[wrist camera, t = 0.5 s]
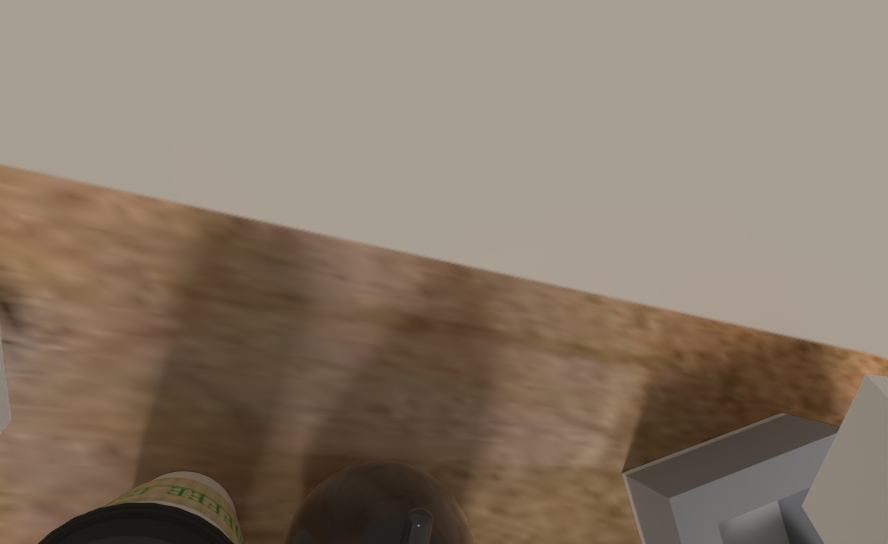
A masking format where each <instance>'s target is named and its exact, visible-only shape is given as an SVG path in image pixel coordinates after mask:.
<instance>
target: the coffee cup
mask: <svg viewBox="0 0 888 544" xmlns="http://www.w3.org/2000/svg"><path fill="white" fill-rule="evenodd" d="M38 544H244V543H243V538H242V532H241V527H240V524H239V521H238V518H237V516H236V510H235V507H234V504H233V502H232V499H231V498H230V496H229V495H228V493H227V491H226V490H225V489H224V488H223V487H222V486H221V485H220V484H219V483H217V482H216V481H214V480H213V479H211V478H210V477H207V476H205V475H202V474H200V473H195V472H189V471H178V472H173V473H167V474H164V475H162V476H159V477H157V478H155V479H153V480H152V481H149V482H147V483H144V484H142V485H139V486H137V487H135V488H134V489H132V490H131V491H129V492H127V493H126V494H124V495H122V496H121V497H119V498H117V499H116V500H114V501H112V502H111V503H109V504H107V505H106V506H104V507H101V508H98V509H95V510H93V511H90V512H88V513H85V514H83V515H80V516H78V517H75V518H73V519H72V520H70V521H68V522H67V523H65V524H63V525H62V526H60V527H58V528H57V529H55V530H54V531H52V532H51V533H49V534H48V535H47V536H46V537H45V538H44V539H43V540H42V541H40V542H39V543H38Z"/></svg>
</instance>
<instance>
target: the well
mask: <svg viewBox="0 0 888 544" xmlns="http://www.w3.org/2000/svg"><path fill="white" fill-rule="evenodd" d="M839 428H840V427H839V426H835V425H831V424H826V423H822V422H818V421H814V420H810V419H806V418H802V417H797V416H793V415H789V414H785V413H780V414H777V415H774V416H772V417H769V418H766V419H764V420H761V421H758V422H756V423H753V424H750V425H748V426H745V427H742V428H740V429H737V430H734V431H732V432H729V433H726V434H724V435H721V436H719V437H716V438H713V439H711V440H708V441H705V442H703V443H700V444H697V445H695V446H692V447H689V448H687V449H684V450H681V451H679V452H676V453H673V454H671V455H668V456H665V457H663V458H660V459H657V460H655V461H652V462H650V463H647V464H644V465H642V466H639V467H636V468H634V469H631V470H628V471H626V472H623V473H622V476H623V480H624V483H625V487H626V490H627V494H628V497H629V500H630V504H631V507H632V511H633V514H634V518H635V521H636V525H637V528H638V532H639V535H640V539H641V542H642V544H824V542H823V541H822V539H821V537H820V536H819V534H818V532H817V531H816V529H815V528H814V526H813V524H812V523H811V521H810V519H809V518H808V516H807V514H806V513H805V511H804V509H803V508H802V504H803V502H804V500H805V498H806V496H807V494H808V492H809V490H810V488H811V486H812V484H813V482H814V479H815V477H816V475H817V473H818V471H819V469H820V467H821V465H822V463H823V461H824V459H825V457H826V455H827V453H828V451H829V449H830V447H831V445H832V442H833V440H834V438H835V436H836V434H837V432H838V430H839Z"/></svg>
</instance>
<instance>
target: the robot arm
mask: <svg viewBox="0 0 888 544" xmlns="http://www.w3.org/2000/svg"><path fill="white" fill-rule="evenodd" d="M11 420H12V418H11V411H10V403H9V396H8V388H7V381H6V373H5V366H4V358H3V351H2V343H1V336H0V434H1V433H2V431H3V430H4V429H5V428H6V426H7V425H8V424H9V423H10V421H11ZM802 508H803V509H804V511H805V513H806V514H807V516H808V518H809V519H810V521H811V523H812V524H813V526H814V528H815V529H816V531H817V532H818V534H819V536H820V537H821V539H822V541H823V542H824V544H888V377H886V376H878V375H870V374H866V375H865V377H864V379H863V381H862V383H861V385H860V387H859V389H858V391H857V393H856V395H855V397H854V399H853V401H852V403H851V405H850V408H849V410H848V412H847V414H846V416H845V418H844V420H843V422H842V424H841V426H840V428H839V430H838V432H837V434H836V436H835V438H834V440H833V442H832V445H831V447H830V449H829V451H828V453H827V455H826V457H825V459H824V461H823V463H822V465H821V467H820V469H819V471H818V473H817V475H816V477H815V479H814V482H813V484H812V486H811V488H810V490H809V492H808V494H807V496H806V498H805V500H804V502H803V504H802Z"/></svg>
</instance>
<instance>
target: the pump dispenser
mask: <svg viewBox="0 0 888 544" xmlns="http://www.w3.org/2000/svg"><path fill="white" fill-rule="evenodd" d="M284 544H475V543H474V539H473V536H472V532H471V529H470V526H469V524H468V521H467V519H466V516H465V514H464V512H463V510H462V509H461V507H460V505H459V504H458V502H457V501H456V499H455V498H454V497H453V495H452V494H451V493H450V492H449V490H448V489H447V488H446V487H445V486H444V485H443V484H442V483H441V482H440V481H438V480H437V479H436V478H435V477H433V476H432V475H430V474H429V473H427V472H425V471H423V470H421V469H419V468H417V467H415V466H412V465H409V464H405V463H401V462H396V461H369V462H363V463H359V464H355V465H352V466H349V467H347V468H344V469H342V470H340V471H338V472H336V473H334V474H332V475H331V476H329V477H328V478H326V479H325V480H324V481H322V482H321V483H320V484H318V485H317V486H316V487H315V488H314V489H313V490H312V491H311V492H310V493H309V494H308V495H307V496H306V498H305V499H304V500H303V501H302V503H301V504H300V506H299V507H298V509H297V510H296V512H295V514H294V516H293V518H292V520H291V522H290V524H289V527H288V530H287V532H286V536H285V540H284Z"/></svg>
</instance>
